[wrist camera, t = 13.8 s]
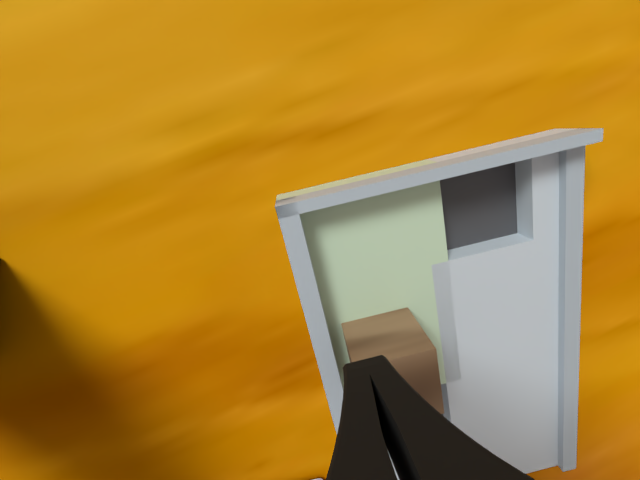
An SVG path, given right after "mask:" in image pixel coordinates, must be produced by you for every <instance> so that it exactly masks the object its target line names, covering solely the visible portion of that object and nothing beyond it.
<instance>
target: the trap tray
mask: <svg viewBox="0 0 640 480" xmlns="http://www.w3.org/2000/svg"><path fill="white" fill-rule="evenodd" d="M601 141H603V128H582V129H552V130H547V131H543V132H539V133H535V134H531V135H526V136H522V137H518V138H514V139H510V140H506V141H501V142H497V143H493V144H489V145H485V146H480V147H476V148H472V149H468V150H464V151H460V152H455V153H451V154H447V155H443V156H439V157H434V158H430V159H426V160H422V161H418V162H413V163H409V164H405V165H401V166H397V167H393V168H388V169H384V170H380V171H376V172H372V173H367V174H363V175H359V176H355V177H351V178H347V179H342V180H338V181H334V182H330V183H326V184H321V185H317V186H313V187H309V188H305V189H300V190H296V191H292V192H288V193H284V194H280V195H277V198H276V204H275V208H276V212H277V216H278V219H279V223H280V227H281V230H282V234H283V238H284V241H285V245H286V249H287V253H288V256H289V260H290V264H291V267H292V271H293V275H294V278H295V282H296V286H297V289H298V293H299V297H300V301H301V304H302V308H303V312H304V315H305V319H306V323H307V326H308V330H309V334H310V337H311V341H312V345H313V348H314V352H315V356H316V360H317V363H318V367H319V371H320V374H321V378H322V382H323V385H324V389H325V393H326V396H327V400H328V404H329V408H330V411H331V415H332V419H333V422H334V426H335V430H336V433H338V428H339V423H340V417H341V409H342V401H343V389H344V374H343V367H344V365H345V364H347V363H350V360H349V356H348V352H347V347H346V343H345V339H344V334H343V330H342V326H341V323H345V322H349V321H353V320H357V319H361V318H365V317H369V316H374V315H378V314H382V313H386V312H390V311H394V310H398V309H402V308H406V307H408V308H409V310H410V311H411V313H412V314H413V316H414V317H415V319H416V320H417V322H418V323H419V324H420V326H421V327H422V329H423V330H424V332H425V333H426V335H427V336H428V337H429V339H430V340H431V342H432V343H433V345H434V346H435V348H436V351H437V359H438V366H439V374H440V382H441V390H442V398H443V405H444V414H442V415H443V416H444V417H445V418H446V419H447V420H449V421H450V422H451V423H452V424H454V425H455V426H456V427H457V428H459V429H460V430H461V431H463V432H464V433H465V434H467V435H468V436H469V437H471V438H472V439H473V440H475V441H476V442H477V443H479V444H480V445H482V446H483V447H484V448H486V449H487V450H489V451H490V452H492V453H493V454H495V455H496V456H498V457H499V458H501V459H502V460H504V461H505V462H507V463H509V464H510V465H512V466H514V467H515V468H517V469H518V470H520V471H522V472H523V473H525V474H527V473H531V472H534V471H538V470H542V469H546V468H550V467H554V466H557V465H558V466H559V468H560V469H561V470H562V471H563V472H564V471H568V470H572V469H576V457H577V421H578V385H579V350H580V314H581V278H582V243H583V207H584V172H585V145H589V144H593V143H597V142H601ZM388 453H389V452H388ZM389 456H390V455H389ZM390 459H391V457H390ZM391 462H392V460H391ZM392 465H393V462H392ZM393 468H394V471H395V474H396V477H397V479H398V480H399V477H398V475H397V472H396V470H395V467H394V465H393Z"/></svg>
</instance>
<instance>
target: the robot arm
mask: <svg viewBox="0 0 640 480" xmlns="http://www.w3.org/2000/svg"><path fill="white" fill-rule="evenodd" d="M343 374H344V389H343V401H342V409H341V417H340V423H339V428H338V433H337V438H336V443H335V448H334V452H333V456H332V460H331V463H330V467H329V471H328V474H327V478H326V480H398V479H397V477H396V474H395V471H394V468H393V465H394V467H395V470H396V472H397V475H398V477H399V480H534V479H533V478H531V477H530V476H528V475H526V474H525V473H523V472H522V471H520V470H518V469H517V468H515V467H514V466H512V465H510V464H509V463H507V462H505V461H504V460H502V459H501V458H499V457H498V456H496V455H495V454H493V453H492V452H490V451H489V450H487V449H486V448H484V447H483V446H482V445H480V444H479V443H477V442H476V441H475V440H473V439H472V438H471V437H469V436H468V435H467V434H465V433H464V432H463V431H461V430H460V429H459V428H457V427H456V426H455V425H454V424H452V423H451V422H450V421H449V420H447V419H446V418H445V417H444V416H443V415H442V414H440V413H439V412H438V411H437V410H436V409H435V408H434V407H432V406H431V405H430V404H429V403H428V402H427V401H426V400H425V399H424V398H423V397H422V396H421V395H420V394H419V393H418V392H417V391H415V390H414V389H413V388H412V387H411V386H410V385H409V384H408V383H407V381H406V380H405V379H404V378H403V377H402V376H401V375H400V374H399V373H398V372H397V371H396V369H395V368H394V367H393V366H392V365H391V363H390V362H389V361H388V359H387V358H386V357H385V356H383V355H379V356H375V357H371V358H367V359H363V360H359V361H355V362H351V363H347V364H345V365H344V367H343ZM388 452H389V453H388ZM389 455H390V456H389ZM390 457H391V459H390ZM391 460H392V462H393V465H392V462H391ZM312 480H323V479H322V478H316V479H312Z"/></svg>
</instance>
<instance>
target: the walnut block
mask: <svg viewBox="0 0 640 480" xmlns="http://www.w3.org/2000/svg"><path fill="white" fill-rule="evenodd" d="M341 326H342V330H343V334H344V339H345V343H346V347H347V352H348V356H349V360H350V363H351V362H355V361H359V360H363V359H367V358H371V357H375V356H379V355H383V356H385V357H386V358H387V359H388V361H389V362H390V363H391V365H392V366H393V367H394V368H395V369H396V371H397V372H398V373H399V374H400V375H401V376H402V377H403V378H404V379H405V380H406V381H407V383H408V384H409V385H410V386H411V387H412V388H413V389H414V390H415V391H417V392H418V393H419V394H420V395H421V396H422V397H423V398H424V399H425V400H426V401H427V402H428V403H429V404H430V405H431V406H432V407H434V408H435V409H436V410H437V411H438V412H439V413H440V414H444V405H443V398H442V390H441V382H440V374H439V366H438V359H437V351H436V348H435V346H434V345H433V343H432V342H431V340H430V339H429V337H428V336H427V335H426V333H425V332H424V330H423V329H422V327H421V326H420V324H419V323H418V322H417V320H416V319H415V317H414V316H413V314H412V313H411V311H410V310H409V308H408V307H406V308H402V309H398V310H394V311H390V312H386V313H382V314H378V315H374V316H369V317H365V318H361V319H357V320H353V321H349V322H345V323H341Z"/></svg>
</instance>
